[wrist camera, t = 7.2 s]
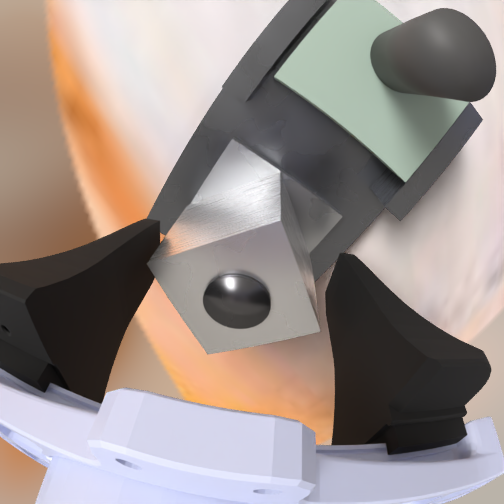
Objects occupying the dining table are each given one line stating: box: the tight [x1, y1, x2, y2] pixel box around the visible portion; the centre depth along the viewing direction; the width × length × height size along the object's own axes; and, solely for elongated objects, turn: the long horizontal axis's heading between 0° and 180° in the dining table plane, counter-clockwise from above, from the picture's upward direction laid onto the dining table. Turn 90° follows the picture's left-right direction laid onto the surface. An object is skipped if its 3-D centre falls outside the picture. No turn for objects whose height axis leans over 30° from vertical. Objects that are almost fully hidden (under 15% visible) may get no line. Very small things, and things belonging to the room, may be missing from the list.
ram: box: [274, 0, 496, 182], centre depth 7 cm, size 6×5×6 cm
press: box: [147, 0, 483, 282], centre depth 12 cm, size 9×15×3 cm, turn 146°
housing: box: [147, 172, 321, 354], centre depth 12 cm, size 4×4×5 cm
